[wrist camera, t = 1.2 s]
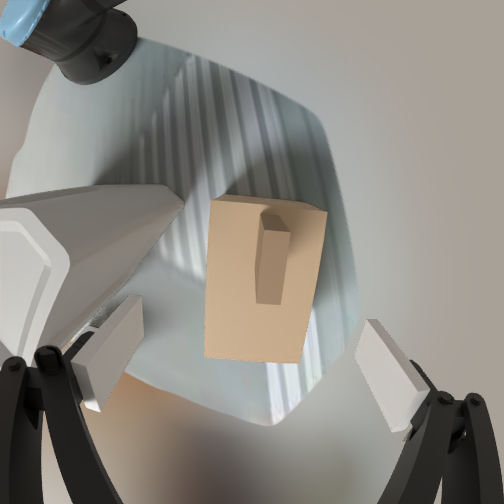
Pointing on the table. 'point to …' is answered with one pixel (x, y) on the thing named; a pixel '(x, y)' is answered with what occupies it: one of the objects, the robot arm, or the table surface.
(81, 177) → the table surface
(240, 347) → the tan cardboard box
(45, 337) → the grey tapered bin
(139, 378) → the table surface
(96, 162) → the table surface
